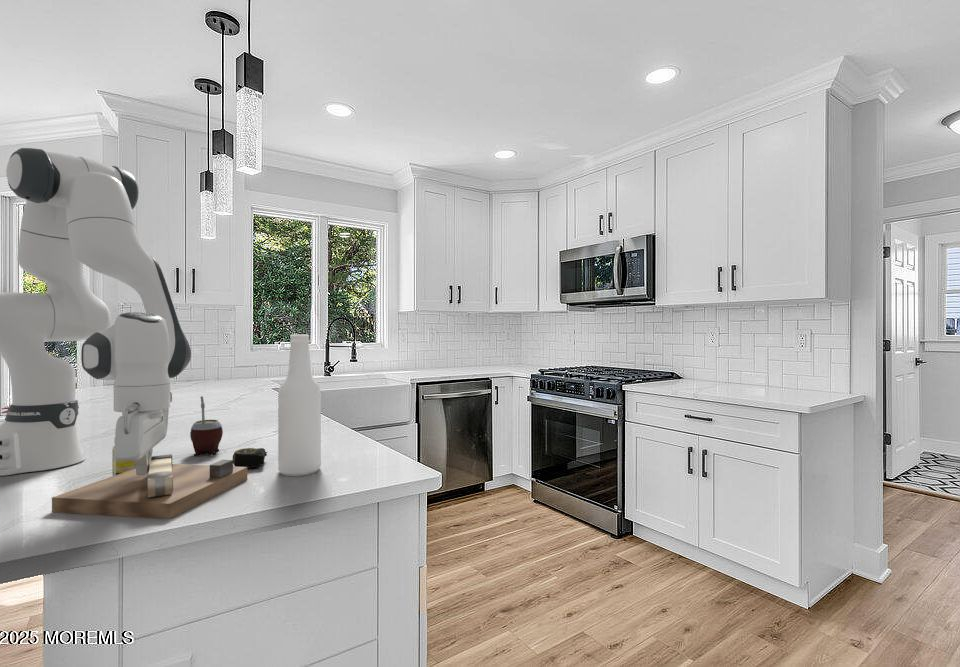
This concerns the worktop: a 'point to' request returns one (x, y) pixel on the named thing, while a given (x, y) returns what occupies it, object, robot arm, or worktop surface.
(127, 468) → the supplement bottle
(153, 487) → the folding leg
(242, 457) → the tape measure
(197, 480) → the wooden cutting board
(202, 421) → the mate gourd
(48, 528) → the worktop surface
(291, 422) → the alcohol
